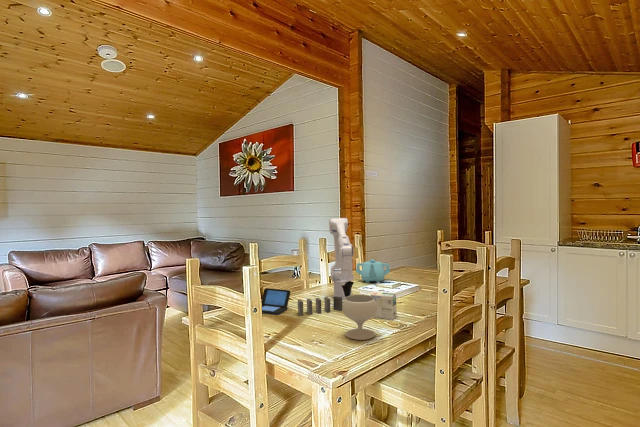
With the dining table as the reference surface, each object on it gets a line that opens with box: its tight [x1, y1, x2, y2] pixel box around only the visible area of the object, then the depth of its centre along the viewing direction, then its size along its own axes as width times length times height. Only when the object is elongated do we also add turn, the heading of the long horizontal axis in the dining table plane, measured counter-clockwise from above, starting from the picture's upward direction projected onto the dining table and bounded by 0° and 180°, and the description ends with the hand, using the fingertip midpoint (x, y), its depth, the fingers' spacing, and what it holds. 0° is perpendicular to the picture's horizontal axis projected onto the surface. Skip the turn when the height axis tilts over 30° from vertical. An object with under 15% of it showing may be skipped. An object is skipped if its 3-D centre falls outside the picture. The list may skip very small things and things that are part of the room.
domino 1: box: [297, 299, 304, 317], centre depth 180 cm, size 2×4×6 cm, turn 16°
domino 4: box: [323, 296, 331, 313], centre depth 184 cm, size 2×4×6 cm, turn 16°
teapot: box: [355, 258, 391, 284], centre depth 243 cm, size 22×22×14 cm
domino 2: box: [306, 298, 313, 316], centre depth 181 cm, size 2×4×6 cm, turn 16°
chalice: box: [341, 294, 377, 341], centre depth 151 cm, size 14×14×15 cm
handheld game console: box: [261, 287, 291, 316], centre depth 189 cm, size 16×13×9 cm
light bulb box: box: [370, 290, 397, 320], centre depth 174 cm, size 11×7×11 cm, turn 65°
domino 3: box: [315, 297, 323, 315], centre depth 183 cm, size 2×4×6 cm, turn 16°
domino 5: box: [332, 296, 344, 312], centre depth 185 cm, size 2×4×6 cm, turn 53°
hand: (347, 296), depth 187 cm, fingers closed
